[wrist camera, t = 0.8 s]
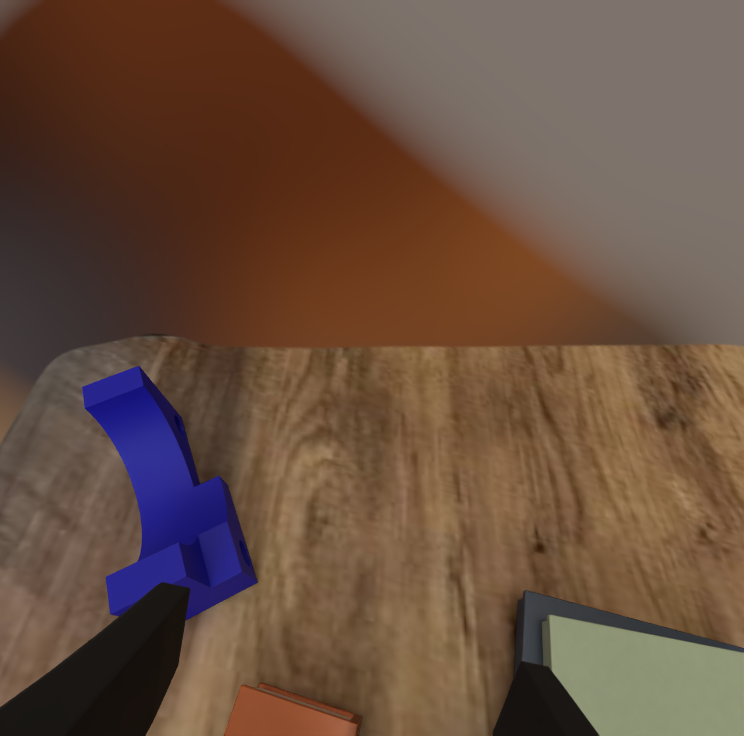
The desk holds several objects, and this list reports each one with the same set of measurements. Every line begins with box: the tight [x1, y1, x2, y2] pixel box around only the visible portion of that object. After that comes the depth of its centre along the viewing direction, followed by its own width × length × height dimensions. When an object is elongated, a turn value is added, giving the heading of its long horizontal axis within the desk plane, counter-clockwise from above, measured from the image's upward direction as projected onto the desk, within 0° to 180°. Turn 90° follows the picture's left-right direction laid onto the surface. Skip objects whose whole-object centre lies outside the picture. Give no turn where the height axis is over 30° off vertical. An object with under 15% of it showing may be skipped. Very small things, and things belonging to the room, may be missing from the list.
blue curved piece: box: [82, 366, 258, 620], centre depth 23 cm, size 12×4×6 cm, turn 27°
